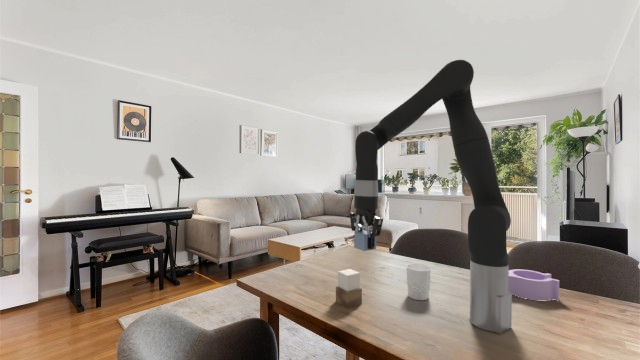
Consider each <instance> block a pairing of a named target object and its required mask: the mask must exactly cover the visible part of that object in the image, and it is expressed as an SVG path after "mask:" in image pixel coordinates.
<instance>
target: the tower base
mask: <svg viewBox="0 0 640 360" xmlns="http://www.w3.org/2000/svg"><path fill="white" fill-rule="evenodd" d="M362 294H363V288H362V287H360V288H359V289H355V290H351V291H346V290H344V289H342V288H340V287H338V285H337V286H336V285H335V302H336V303H338V304H339V305H341V306H342V307H344V308H346V309H349V308H352V307H356V306H359V305H362V304H363V300H362V299H363V295H362Z"/></svg>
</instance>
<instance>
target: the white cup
mask: <svg viewBox="0 0 640 360" xmlns="http://www.w3.org/2000/svg"><path fill="white" fill-rule="evenodd" d="M431 273H432V270H431V267H430V266H428V265H426V264H419V263H412V264H411V263H410V264H407V265H406V285H407V295H408V297H409V298H410V299H412V300H416V301H426V300H428V299H429V298H430V290H431V289H430V288H431V287H430V286H431Z"/></svg>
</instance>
